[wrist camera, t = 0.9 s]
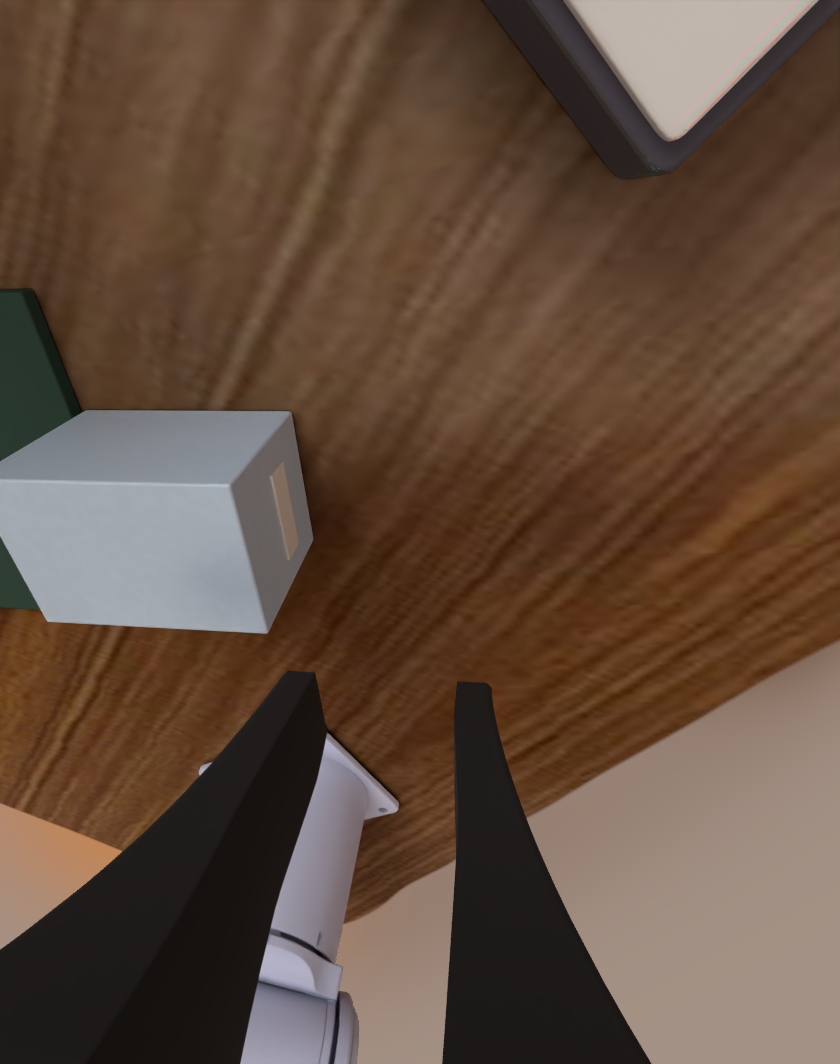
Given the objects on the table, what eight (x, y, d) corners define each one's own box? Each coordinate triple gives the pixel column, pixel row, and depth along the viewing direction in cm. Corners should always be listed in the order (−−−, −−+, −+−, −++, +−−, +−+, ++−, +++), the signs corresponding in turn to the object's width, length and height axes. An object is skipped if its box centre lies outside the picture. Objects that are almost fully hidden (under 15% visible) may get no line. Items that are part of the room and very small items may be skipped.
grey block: (294, 410, 20) (232, 485, 15) (316, 539, 23) (270, 635, 18) (85, 408, 21) (-34, 479, 16) (134, 533, 24) (46, 622, 19)
